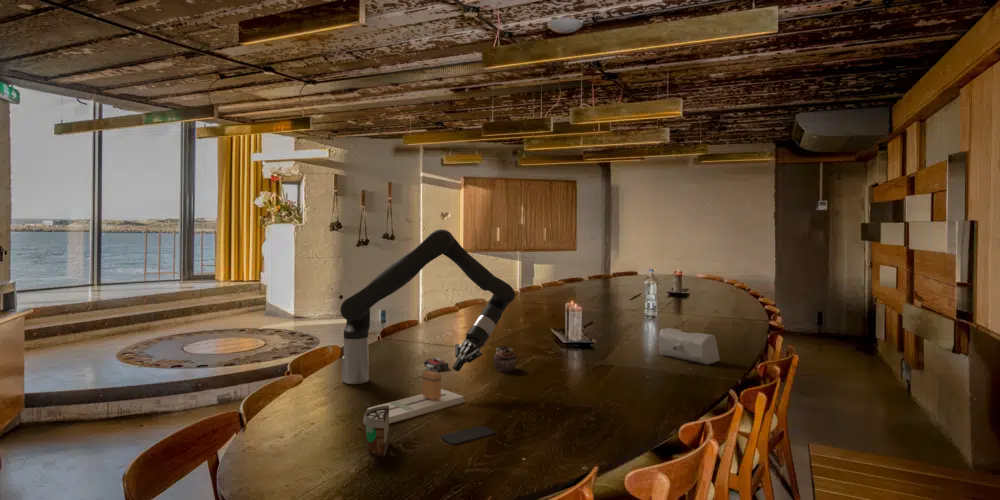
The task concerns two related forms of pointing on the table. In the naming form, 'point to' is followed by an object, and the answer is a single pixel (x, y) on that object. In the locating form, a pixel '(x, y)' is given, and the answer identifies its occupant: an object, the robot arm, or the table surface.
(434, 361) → the walkie-talkie
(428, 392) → the fader tab
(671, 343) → the grey faceted block
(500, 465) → the table surface
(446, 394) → the white slider board
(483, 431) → the phone
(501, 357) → the cupcake
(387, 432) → the food container
